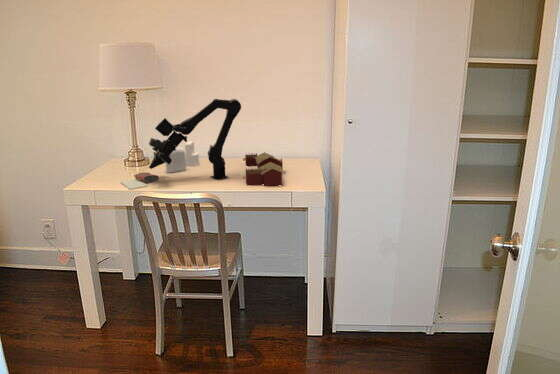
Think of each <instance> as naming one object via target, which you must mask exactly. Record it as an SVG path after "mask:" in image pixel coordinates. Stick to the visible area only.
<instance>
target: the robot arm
mask: <svg viewBox="0 0 560 374" xmlns="http://www.w3.org/2000/svg"><path fill="white" fill-rule="evenodd" d="M217 109H220V110H226V114H225V118H224V120H223V123H222V124H221V125H222V126H221V128H220V131H219V133H218V136H217V139H216V141H215V143H213V145H212V144H210V145H209V150H208V151H207V156H208V157H207V158H208V161H209V163H210V164H212V171H213V172H212V174H213V175H210V178H212V179H214V180H215V181H216V180H223V179H228V178H229V176H228V175H226V161H225V158H224V157H223V156H222V154H223V148H224V145H225V142H226V141H227V137H228V136H229V135H228V134H229V132H230V129H231V127H232V125H233V122H234V120H235V118H236V117H237V116H238V114H239V113H240V111H241V109H242V104H241V103H240V101H239V100H238V99H237V98H233V99H232V98H231V99H218V98H214V99H212V101H211V102H210V103H208V104H207V105H206V106H204V107H203V108H202V109H201V110H200V111H198V112H197V113H196V114H194V115H192V116H190V117H189V118H186V119H185V120H183V121H181V122H180V123H177V124H172V123H171V122H170V121H169V120H168V119H167V118H166V117H165V118H163V119H162V120H161V121H160V122H159V123H158V124H157V125H156V127H154V129H155V131H157V132H158V133H159V134H161V135H162V137H168V138H167V139H164V140H162V141H161V139H157V138H156V139H155V138H153V137H151V138H150V140H149V142H148V145H149V146H150V147H151V148H152V150H153V158H152V160H151V163H150V165H149V169H151V170H152V169H155V168H156V167H159V166H160V165H163V164H166V163H168V164H170V163H171V162H172V159H171V158H170V154H171V153H172V152H173V151H175V150H176V149H175V148H176V147H179V145H180V144H181V143H182V142H183V141H184V143H187V142H188V135H190V134H191V133H192V132H193V131H194V130H195V128H196V127H197V126H198V125H199V124H200V123H201V122H202V121H204V119H206V118H207V117H209V116H210V115H211V114H212V113H213V112H215V111H216V110H217Z"/></svg>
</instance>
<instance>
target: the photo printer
mask: <svg viewBox="0 0 560 374" xmlns="http://www.w3.org/2000/svg"><path fill="white" fill-rule="evenodd" d="M175 149H176V150H175V151H173V152H172V153H171V154H170V158H171V159H172V162H171V163H170V164H168V163H165V170H166V173H167V174H170V173H176V172H183V171H186V170H187V168H186V164H185V148H183V147H179V146H177V147H176V148H175Z"/></svg>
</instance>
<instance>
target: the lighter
mask: <svg viewBox="0 0 560 374" xmlns="http://www.w3.org/2000/svg"><path fill="white" fill-rule="evenodd" d="M134 179H138V180H140V181H142V182H144V183H155V182H158V181H159V179H160V178H159V175H157V174H152V173H150V172H140V173H136V174H134Z"/></svg>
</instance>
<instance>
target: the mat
mask: <svg viewBox="0 0 560 374" xmlns="http://www.w3.org/2000/svg"><path fill="white" fill-rule="evenodd" d="M119 183H120V184H121V183H122V184H121V185H122V186H124V187H125V188H126V189H128V190H130V191H131V190H136V189H142V188H146V187H149V184H146V182H144V181H142V180H138V179H136V178H133V179H129V180H127V179H126V180H123V181H122V180H121V181H119Z"/></svg>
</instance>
